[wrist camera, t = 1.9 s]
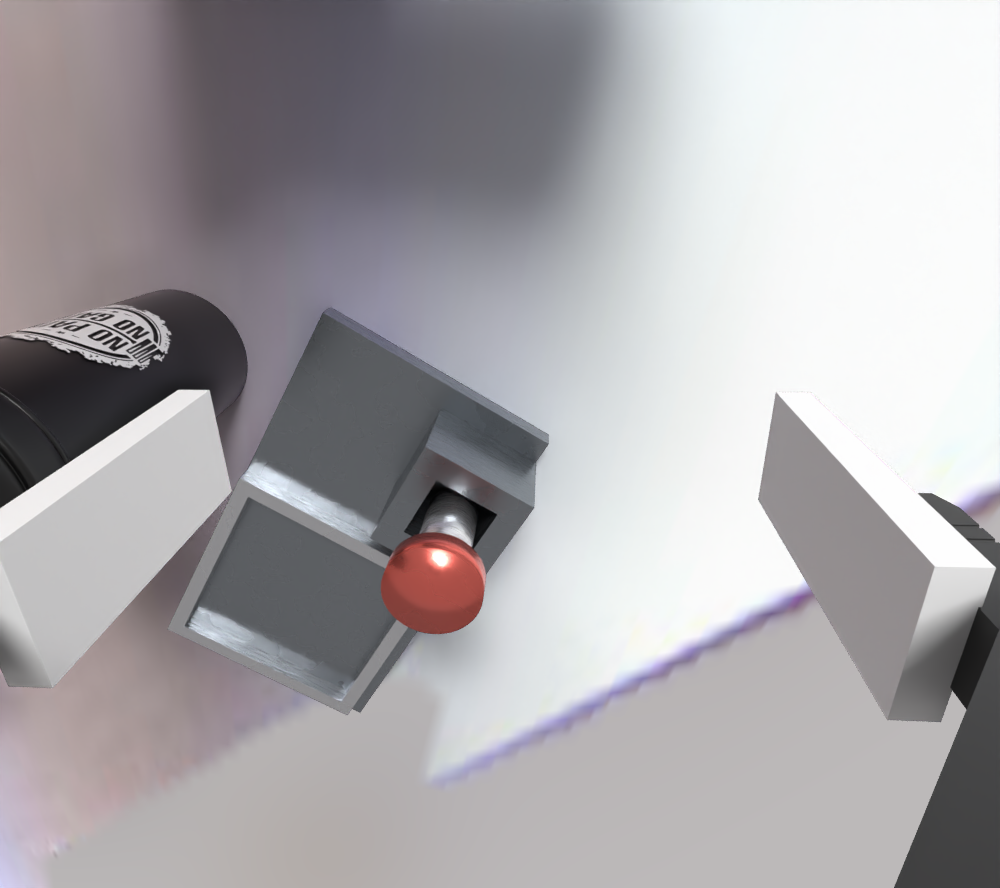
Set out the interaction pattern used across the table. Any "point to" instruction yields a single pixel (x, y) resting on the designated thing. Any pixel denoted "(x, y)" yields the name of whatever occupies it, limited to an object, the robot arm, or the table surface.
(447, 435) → the press
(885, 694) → the robot arm
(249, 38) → the table surface
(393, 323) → the table surface
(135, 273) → the table surface
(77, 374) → the water bottle
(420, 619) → the pin
